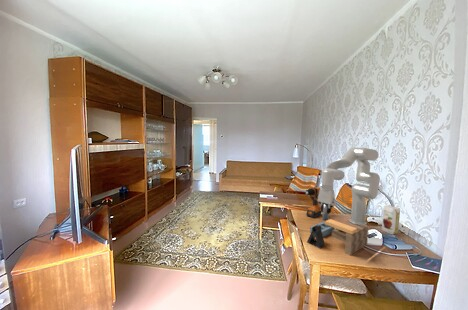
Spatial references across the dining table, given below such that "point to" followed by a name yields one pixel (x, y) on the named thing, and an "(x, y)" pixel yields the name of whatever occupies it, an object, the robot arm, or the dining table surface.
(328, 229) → the rack
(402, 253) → the dining table surface
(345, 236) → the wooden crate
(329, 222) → the bar
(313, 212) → the power drill
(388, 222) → the juice carton
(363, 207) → the robot arm
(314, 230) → the black a-frame stand
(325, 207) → the drill bit
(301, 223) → the dining table surface
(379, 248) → the dining table surface
